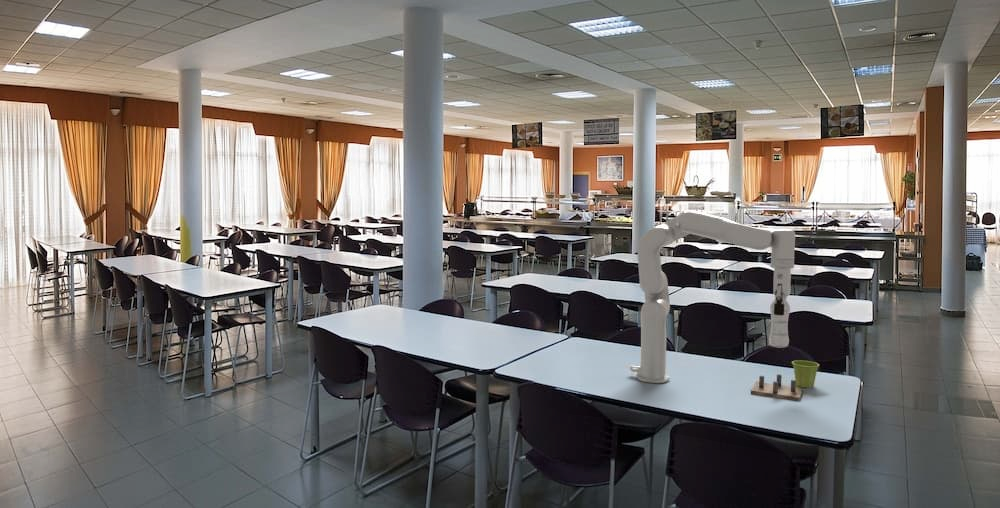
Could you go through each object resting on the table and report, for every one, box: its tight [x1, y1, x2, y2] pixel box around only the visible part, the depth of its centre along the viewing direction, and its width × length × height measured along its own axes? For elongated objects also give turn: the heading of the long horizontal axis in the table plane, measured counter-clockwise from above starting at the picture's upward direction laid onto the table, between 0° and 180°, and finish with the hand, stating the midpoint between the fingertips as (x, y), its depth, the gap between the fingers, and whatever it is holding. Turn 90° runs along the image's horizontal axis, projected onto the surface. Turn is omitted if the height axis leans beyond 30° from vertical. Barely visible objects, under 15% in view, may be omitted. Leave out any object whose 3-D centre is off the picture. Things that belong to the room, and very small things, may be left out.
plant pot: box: [791, 360, 820, 389], centre depth 238 cm, size 9×9×9 cm
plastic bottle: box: [768, 292, 791, 349], centre depth 227 cm, size 6×7×20 cm
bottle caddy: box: [750, 373, 804, 402], centre depth 230 cm, size 16×13×5 cm
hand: (780, 312), depth 227 cm, fingers closed on plastic bottle, 6 cm apart
